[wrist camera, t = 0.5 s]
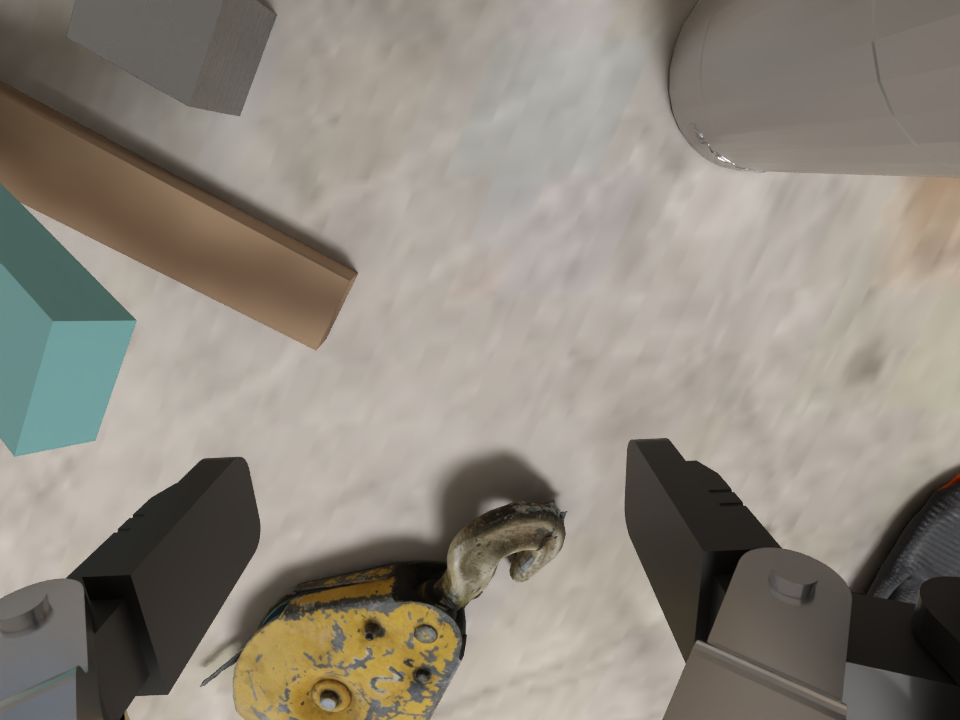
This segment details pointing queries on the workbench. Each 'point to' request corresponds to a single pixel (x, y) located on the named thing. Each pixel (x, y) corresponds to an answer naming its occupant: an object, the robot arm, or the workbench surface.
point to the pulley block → (384, 627)
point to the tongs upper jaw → (52, 338)
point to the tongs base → (166, 222)
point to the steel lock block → (180, 45)
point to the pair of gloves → (923, 548)
